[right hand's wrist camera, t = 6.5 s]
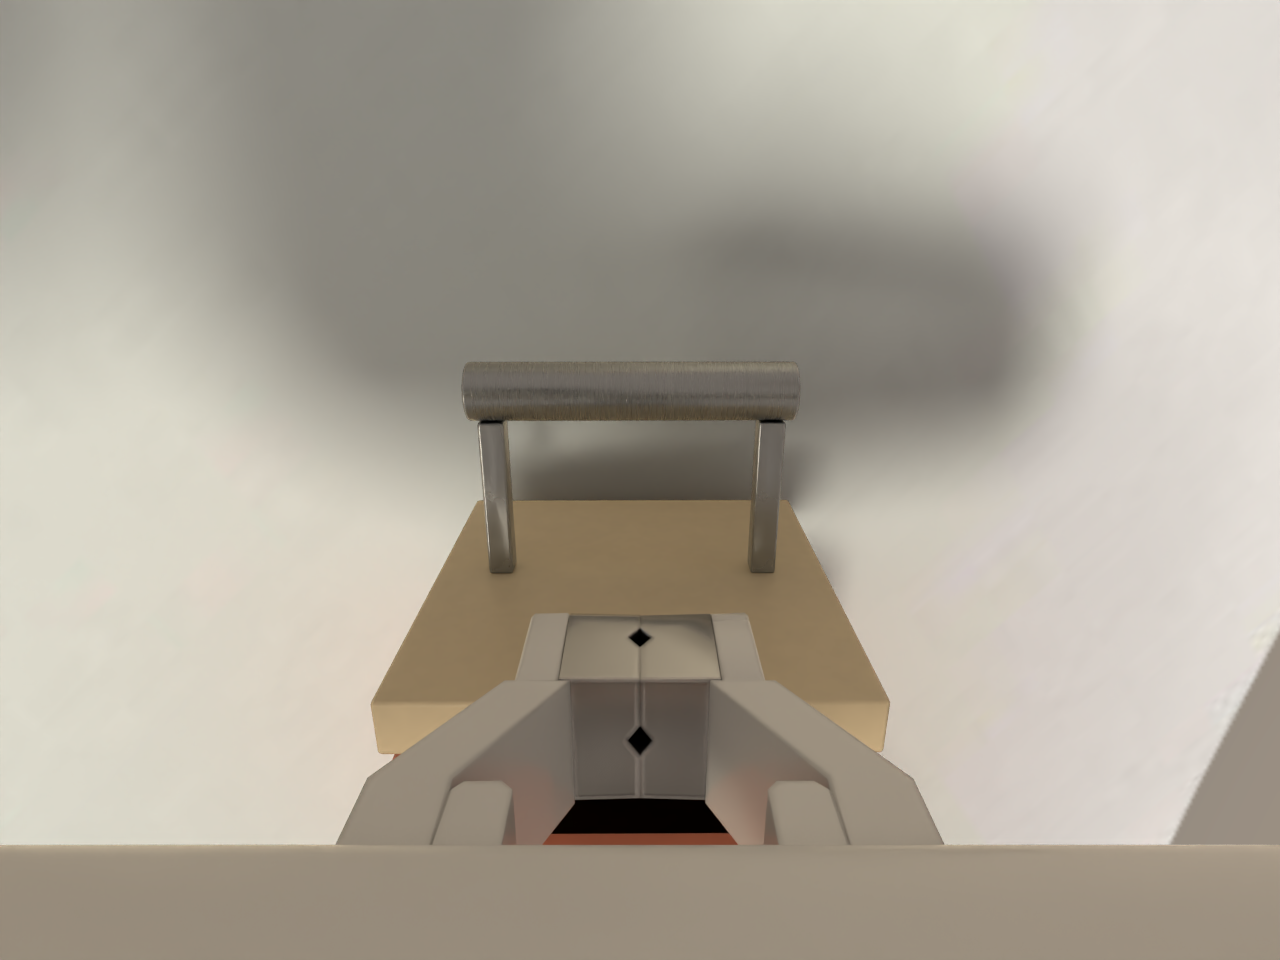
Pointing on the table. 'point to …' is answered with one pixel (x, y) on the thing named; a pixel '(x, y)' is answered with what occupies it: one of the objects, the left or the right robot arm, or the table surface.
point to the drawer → (627, 563)
